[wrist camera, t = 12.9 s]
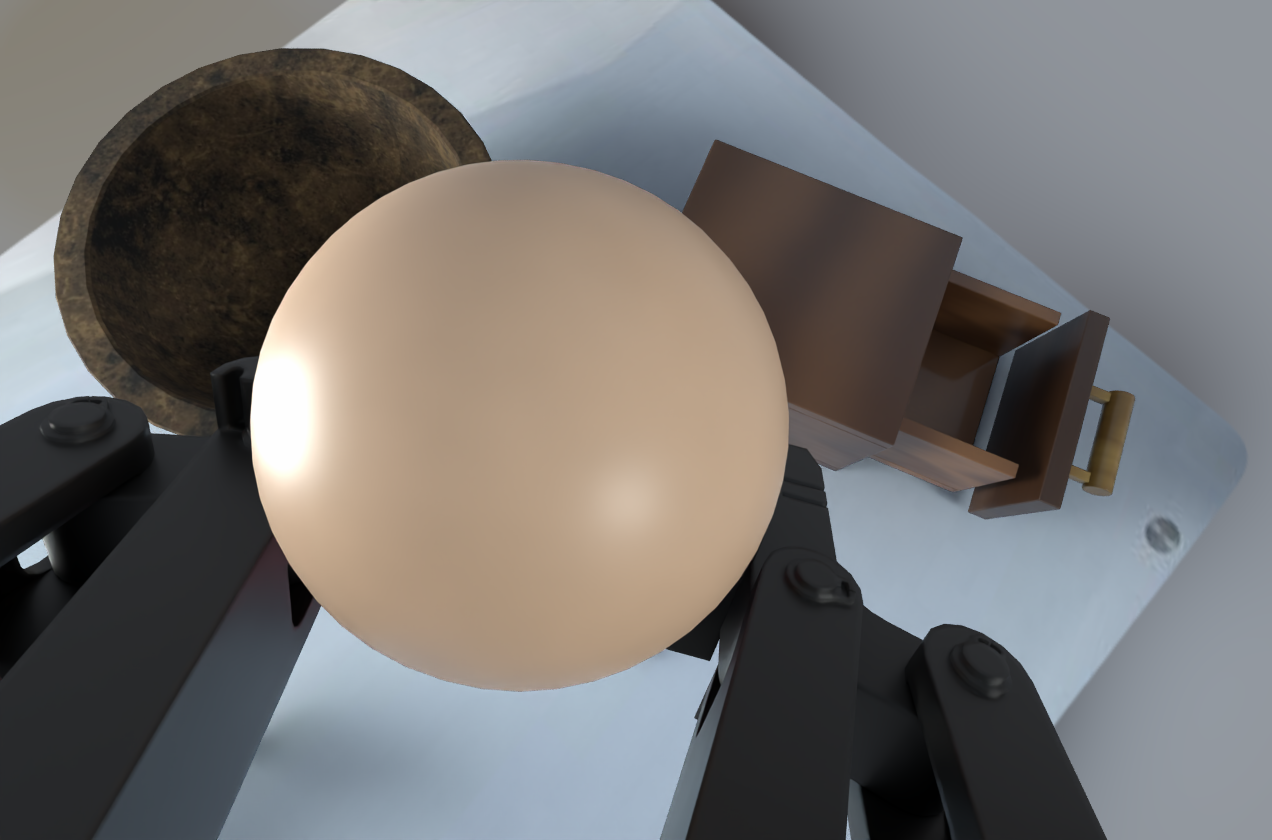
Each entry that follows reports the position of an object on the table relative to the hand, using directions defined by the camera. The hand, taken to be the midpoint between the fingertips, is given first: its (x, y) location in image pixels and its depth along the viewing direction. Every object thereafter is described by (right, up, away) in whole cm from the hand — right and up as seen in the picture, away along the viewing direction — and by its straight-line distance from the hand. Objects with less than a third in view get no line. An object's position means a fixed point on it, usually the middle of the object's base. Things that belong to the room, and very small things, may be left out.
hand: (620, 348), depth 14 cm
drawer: (+19, -1, +27) cm, 34 cm away
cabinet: (+9, +4, +29) cm, 30 cm away
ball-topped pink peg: (-1, -5, +7) cm, 9 cm away
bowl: (-17, +5, +28) cm, 33 cm away
